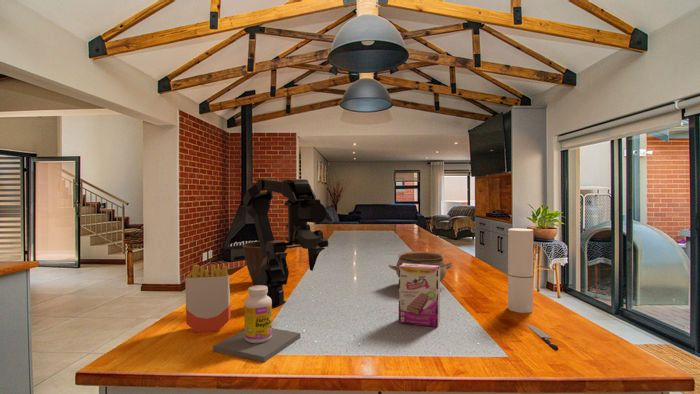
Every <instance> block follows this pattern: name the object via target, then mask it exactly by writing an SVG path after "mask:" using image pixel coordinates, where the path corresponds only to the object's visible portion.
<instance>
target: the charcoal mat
mask: <svg viewBox="0 0 700 394" xmlns="http://www.w3.org/2000/svg"><path fill="white" fill-rule="evenodd" d="M299 339H301V332H297V331H291V330H284V329H280V328H279V329H278V328H274V327H272V337H271V339H269V340H268V341H266V342H262V343H250V342H247V341H246V340H245V328H244V329H243V330H241V331H239V332H237V333H235V334H233V335H231V336H229V337H227V338H225V339H224V340H221V341H220V342H217V343H216V344H214V345H212V351H213V352H218V353H221V354H225V355H231V356H235V357H240V358H243V359H249V360H253V361H256V362H257V361H258V362H262V363H265V362H267V361H269V360H270V359H271V358H273V357H274V356H276V355H277V354H278V353H280V352H282V351H284V350H285V349H286V348H287V347H289V346H290V345H292V344H293V343H294V342H296V341H298V340H299Z"/></svg>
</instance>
